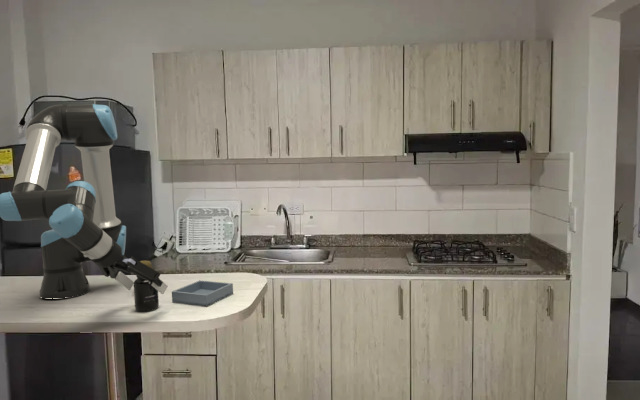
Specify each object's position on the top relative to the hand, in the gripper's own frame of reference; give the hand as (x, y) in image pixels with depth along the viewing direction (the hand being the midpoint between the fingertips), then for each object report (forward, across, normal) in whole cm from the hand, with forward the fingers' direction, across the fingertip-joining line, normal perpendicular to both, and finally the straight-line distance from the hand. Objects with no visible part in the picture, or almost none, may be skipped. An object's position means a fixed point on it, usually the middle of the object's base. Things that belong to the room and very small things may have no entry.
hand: (147, 288), depth 136 cm
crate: (+14, +10, +5) cm, 18 cm away
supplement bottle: (+4, 0, -5) cm, 7 cm away
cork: (+14, -14, +4) cm, 20 cm away
